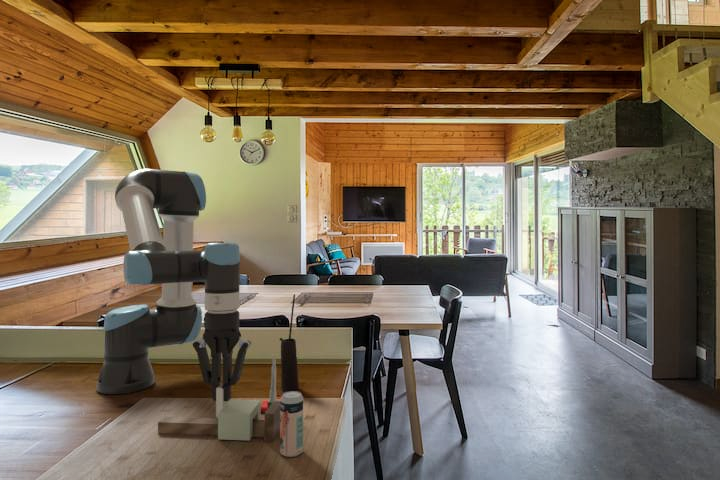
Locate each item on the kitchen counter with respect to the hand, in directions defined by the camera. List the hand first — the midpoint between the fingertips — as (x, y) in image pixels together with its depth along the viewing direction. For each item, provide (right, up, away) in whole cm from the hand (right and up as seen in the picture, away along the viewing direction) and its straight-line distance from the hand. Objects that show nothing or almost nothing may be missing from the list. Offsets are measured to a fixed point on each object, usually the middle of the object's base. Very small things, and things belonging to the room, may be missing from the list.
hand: (221, 414), depth 98 cm
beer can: (+17, -4, -9) cm, 20 cm away
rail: (-1, -4, 0) cm, 4 cm away
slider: (+4, -4, 0) cm, 6 cm away
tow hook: (+10, -4, +16) cm, 19 cm away
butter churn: (+10, -4, +29) cm, 30 cm away
